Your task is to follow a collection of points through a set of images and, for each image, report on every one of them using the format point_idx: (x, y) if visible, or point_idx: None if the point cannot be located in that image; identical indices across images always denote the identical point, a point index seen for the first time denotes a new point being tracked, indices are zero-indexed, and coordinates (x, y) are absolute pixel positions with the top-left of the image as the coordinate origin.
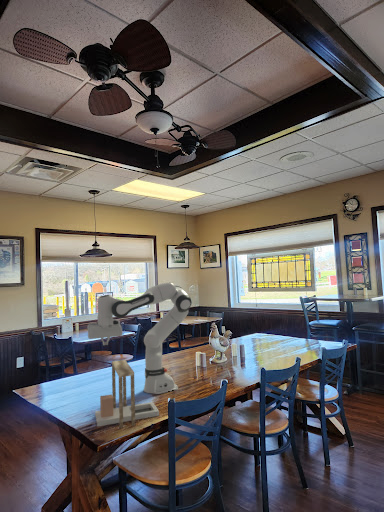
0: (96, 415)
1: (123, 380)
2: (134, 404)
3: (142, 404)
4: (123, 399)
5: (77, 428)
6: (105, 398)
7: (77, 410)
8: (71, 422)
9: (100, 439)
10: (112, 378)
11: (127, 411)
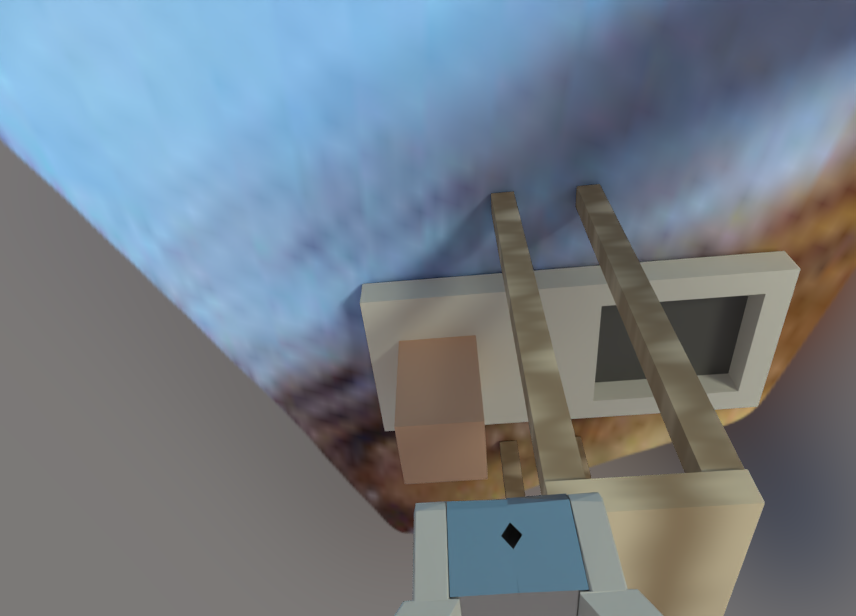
0: (373, 362)
1: (635, 343)
2: None
3: (709, 289)
4: (589, 233)
5: (277, 395)
6: (433, 472)
7: (202, 128)
8: (219, 319)
9: (404, 504)
10: (520, 374)
11: (573, 364)
